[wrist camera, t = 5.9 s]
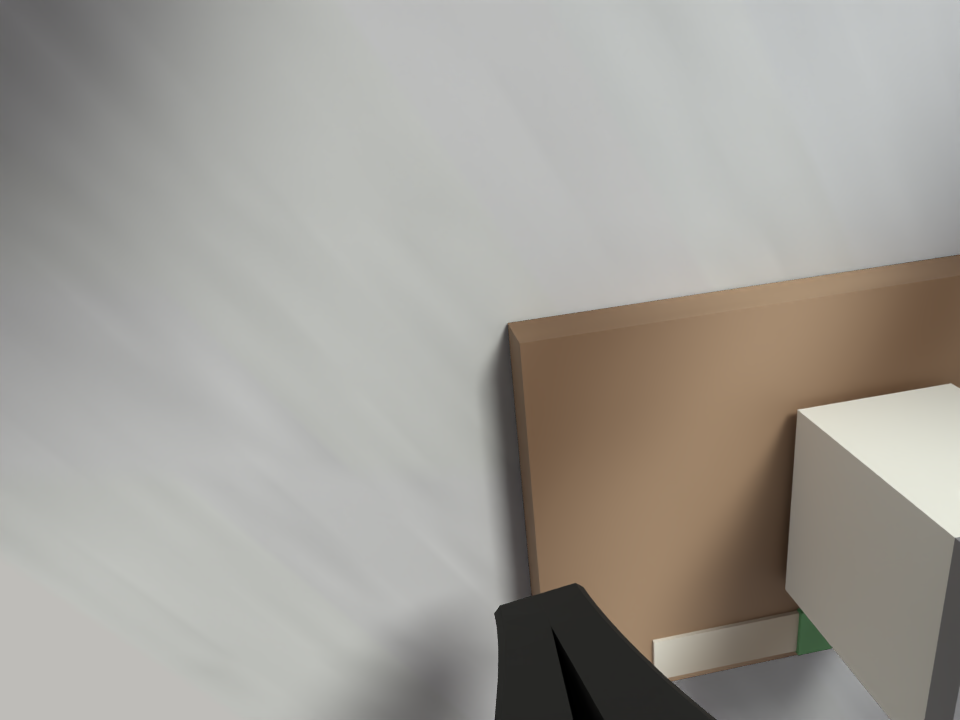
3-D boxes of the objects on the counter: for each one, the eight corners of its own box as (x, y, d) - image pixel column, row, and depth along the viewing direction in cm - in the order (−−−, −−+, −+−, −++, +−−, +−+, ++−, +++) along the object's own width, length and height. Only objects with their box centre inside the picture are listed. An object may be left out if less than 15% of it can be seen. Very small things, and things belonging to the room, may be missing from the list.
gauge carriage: (953, 380, 15) (1198, 517, 10) (916, 626, 17) (1104, 819, 13) (794, 407, 14) (983, 561, 10) (777, 655, 16) (925, 863, 12)
